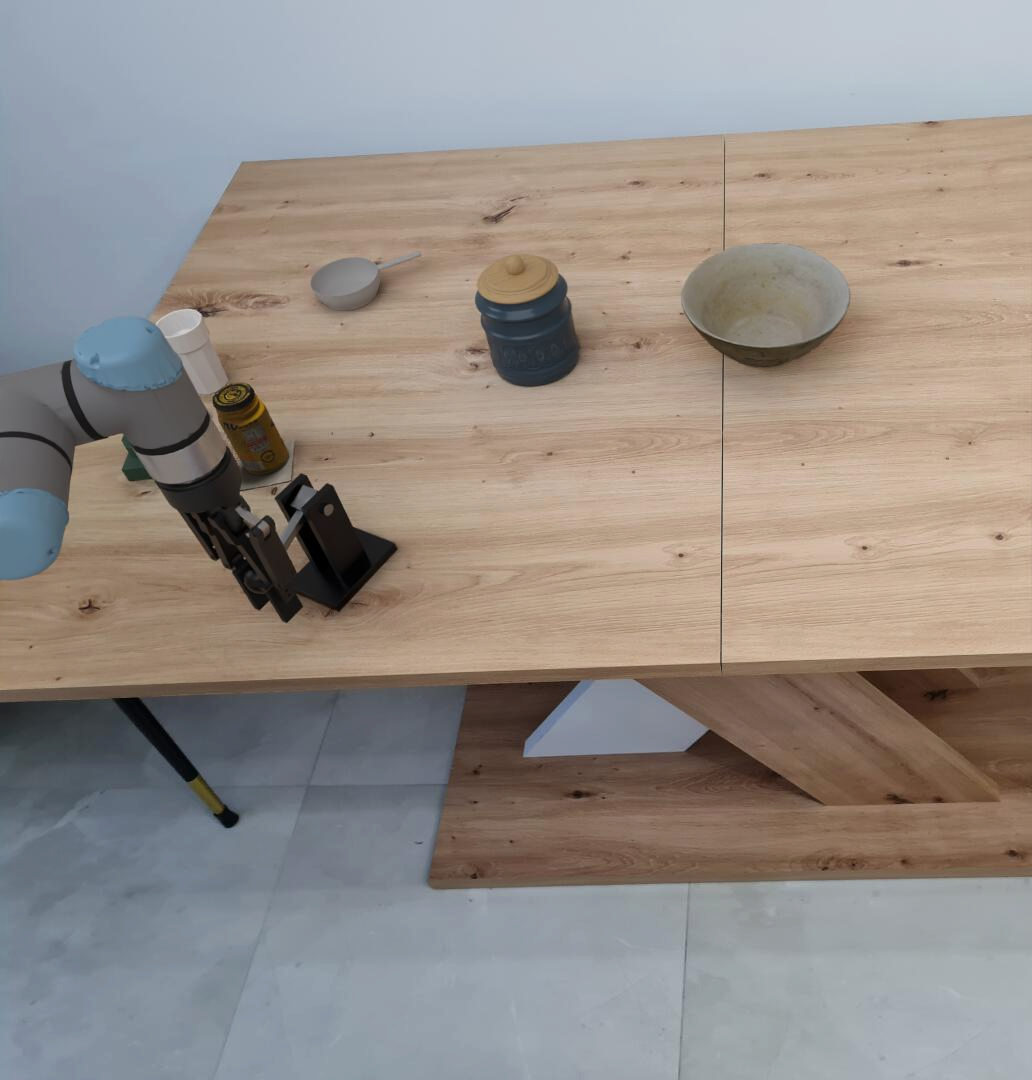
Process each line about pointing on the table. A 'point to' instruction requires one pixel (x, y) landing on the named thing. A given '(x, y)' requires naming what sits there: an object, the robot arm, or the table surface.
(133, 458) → the control block
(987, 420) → the table surface
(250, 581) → the ball lever handle
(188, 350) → the cup
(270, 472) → the condiment
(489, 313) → the canister
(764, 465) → the table surface
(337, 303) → the saucepan
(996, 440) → the table surface
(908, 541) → the table surface
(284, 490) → the lever base
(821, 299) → the bowl
